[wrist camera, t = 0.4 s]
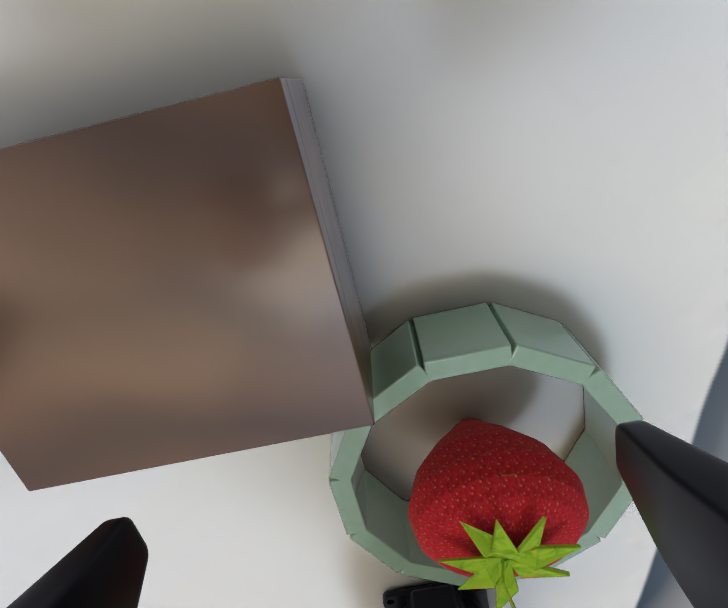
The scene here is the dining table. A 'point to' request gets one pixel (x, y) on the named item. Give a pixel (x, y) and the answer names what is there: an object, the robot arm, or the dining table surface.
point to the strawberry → (496, 507)
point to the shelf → (175, 290)
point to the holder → (463, 356)
